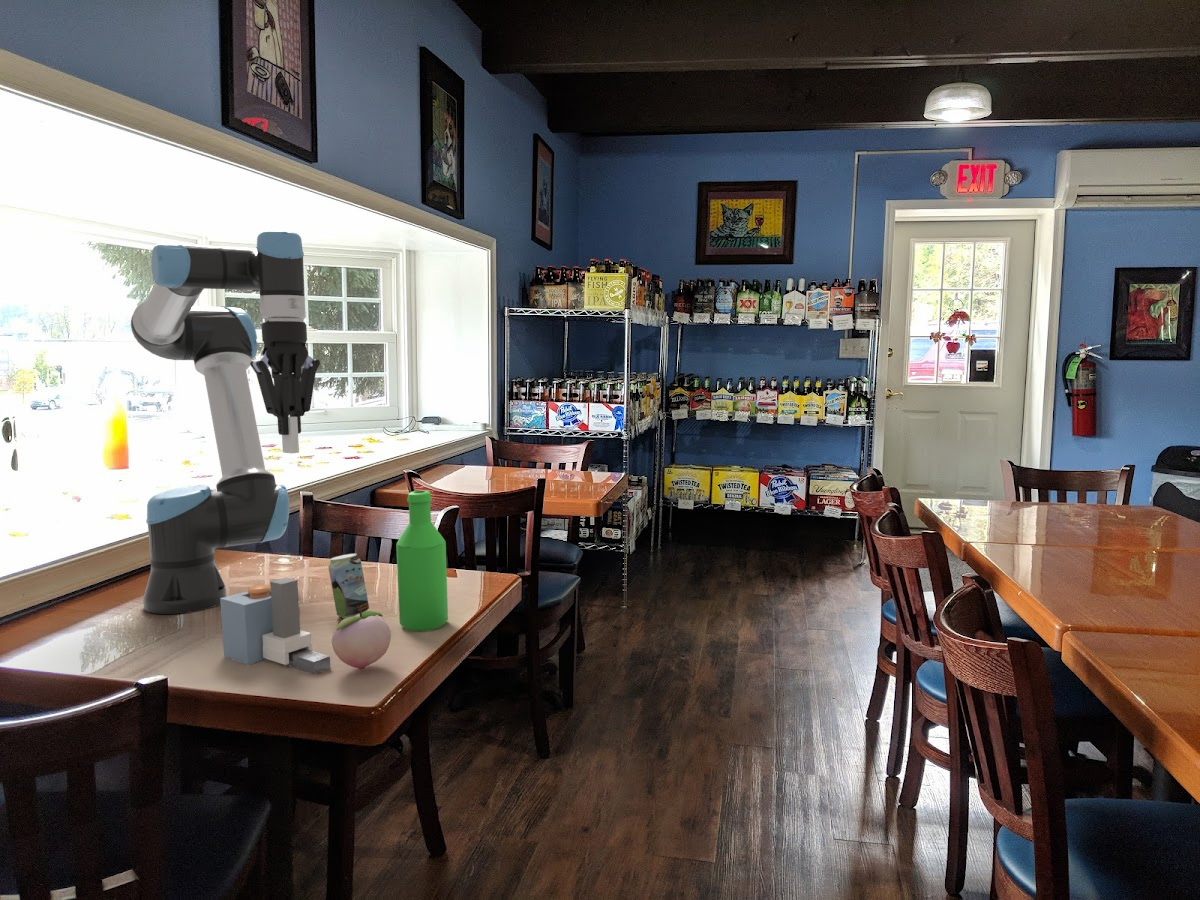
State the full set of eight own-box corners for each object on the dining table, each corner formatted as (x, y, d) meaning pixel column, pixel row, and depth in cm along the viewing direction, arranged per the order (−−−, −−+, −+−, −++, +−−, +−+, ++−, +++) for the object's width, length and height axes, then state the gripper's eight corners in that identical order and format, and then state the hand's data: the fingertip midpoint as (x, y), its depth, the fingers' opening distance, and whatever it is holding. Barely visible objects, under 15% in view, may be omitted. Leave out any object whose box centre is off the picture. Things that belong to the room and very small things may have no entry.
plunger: (245, 617, 144) (243, 588, 143) (264, 611, 147) (262, 583, 146) (257, 621, 142) (255, 591, 141) (276, 615, 145) (275, 586, 144)
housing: (223, 656, 143) (220, 598, 142) (276, 639, 151) (273, 584, 150) (248, 664, 139) (244, 605, 138) (301, 647, 147) (298, 590, 146)
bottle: (431, 635, 152) (427, 497, 149) (390, 630, 155) (384, 494, 152) (456, 620, 161) (452, 489, 158) (416, 615, 164) (412, 487, 161)
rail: (269, 659, 141) (268, 647, 141) (285, 653, 144) (284, 642, 144) (314, 674, 134) (314, 662, 134) (330, 668, 137) (329, 656, 137)
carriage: (263, 657, 140) (258, 581, 139) (290, 648, 145) (286, 574, 143) (285, 665, 137) (280, 587, 135) (312, 655, 141) (308, 579, 140)
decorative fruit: (367, 683, 130) (364, 620, 129) (324, 676, 133) (321, 614, 132) (403, 663, 139) (401, 603, 138) (362, 656, 142) (360, 598, 141)
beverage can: (360, 622, 160) (357, 559, 159) (324, 620, 162) (321, 558, 160) (375, 612, 166) (372, 551, 165) (340, 610, 168) (337, 550, 166)
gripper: (263, 319, 144) (271, 457, 147) (327, 320, 155) (334, 450, 158) (238, 320, 149) (246, 455, 151) (302, 322, 159) (308, 447, 162)
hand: (290, 452), depth 154 cm, fingers closed
